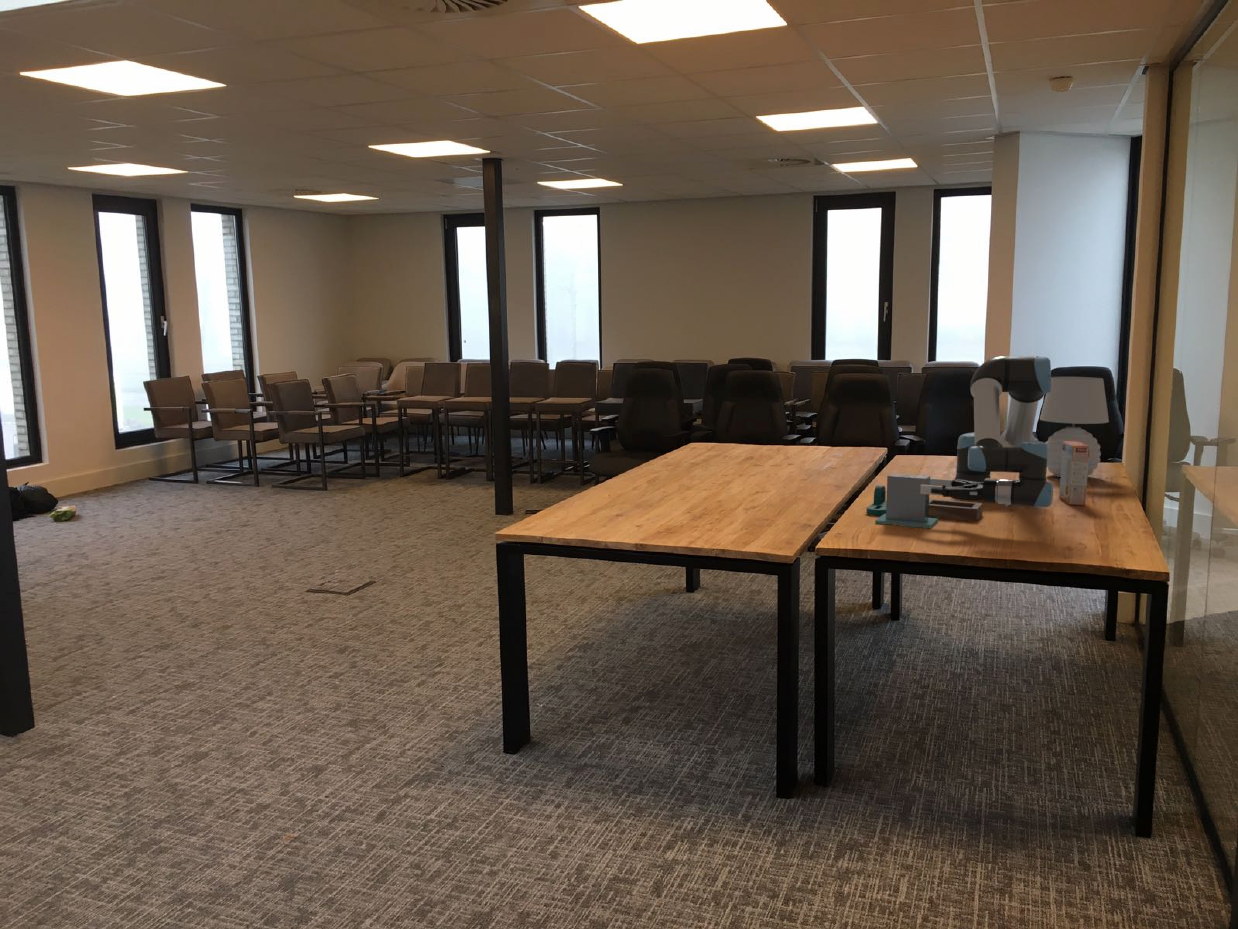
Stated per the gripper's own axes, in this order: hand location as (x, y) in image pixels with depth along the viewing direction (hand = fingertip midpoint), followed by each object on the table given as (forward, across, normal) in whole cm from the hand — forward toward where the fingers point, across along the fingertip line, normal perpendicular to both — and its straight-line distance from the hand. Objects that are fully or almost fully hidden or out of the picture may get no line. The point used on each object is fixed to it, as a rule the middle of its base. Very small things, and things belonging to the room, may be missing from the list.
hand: (925, 485), depth 311 cm
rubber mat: (+5, 0, -12) cm, 13 cm away
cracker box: (-38, +63, -13) cm, 75 cm away
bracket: (+17, +15, -13) cm, 26 cm away
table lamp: (-33, +121, -12) cm, 126 cm away
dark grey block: (+5, 0, -11) cm, 12 cm away
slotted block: (-5, +18, -12) cm, 22 cm away
